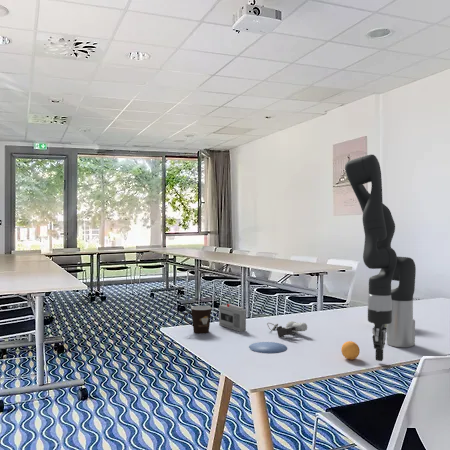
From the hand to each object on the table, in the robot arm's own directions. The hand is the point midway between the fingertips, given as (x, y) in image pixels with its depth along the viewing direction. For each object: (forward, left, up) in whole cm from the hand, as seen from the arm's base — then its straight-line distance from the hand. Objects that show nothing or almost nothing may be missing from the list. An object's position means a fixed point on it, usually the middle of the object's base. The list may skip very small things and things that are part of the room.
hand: (379, 360), depth 150 cm
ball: (+7, -7, +2) cm, 10 cm away
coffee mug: (+47, -59, -1) cm, 75 cm away
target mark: (+28, -28, -1) cm, 39 cm away
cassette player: (+31, -61, -1) cm, 68 cm away
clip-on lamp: (+13, -44, -1) cm, 46 cm away
